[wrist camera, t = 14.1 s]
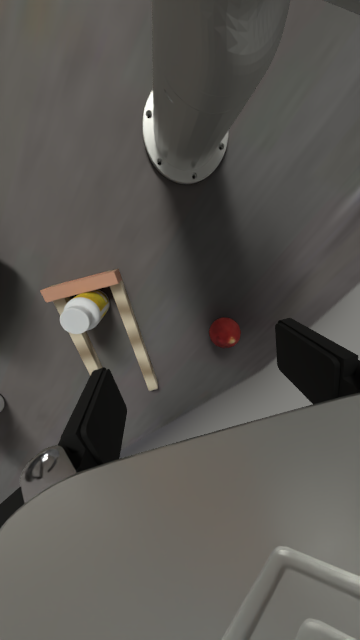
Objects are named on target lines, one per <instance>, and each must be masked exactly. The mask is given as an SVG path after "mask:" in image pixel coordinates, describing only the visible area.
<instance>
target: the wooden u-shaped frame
mask: <svg viewBox="0 0 360 640" xmlns="http://www.w3.org/2000/svg"><path fill="white" fill-rule="evenodd" d="M108 286H110V288H111V291H112V294H113V296H114V299H115V302H116V304H117V307H118V310H119V312H120V315H121V318H122V320H123V323H124V326H125V328H126V331H127V333H128V336H129V339H130V341H131V344H132V347H133V349H134V352H135V355H136V357H137V360H138V363H139V365H140V368H141V371H142V373H143V376H144V379H145V381H146V384H147V387H148V389H149V391H151V390H155V389H158V381H157V378H156V376H155V373H154V370H153V367H152V364H151V361H150V358H149V355H148V353H147V350H146V347H145V344H144V341H143V338H142V335H141V332H140V330H139V327H138V324H137V321H136V318H135V315H134V312H133V309H132V307H131V304H130V301H129V298H128V295H127V292H126V289H125V286H124V284H123V281H122V278H121V275H120V272H119V269H115V270H111V271H107V272H103V273H99V274H95V275H91V276H88V277H84V278H80V279H76V280H72V281H68V282H64V283H60V284H57V285H53V286H50V287H48V288H45V289H43V290H40V292H41V293H42V295H43V297H44V299H45V301H46V302H50V301H53V302H54V304H55V306H56V308H57V310H58V312H59V314H60V316H61V314H62V312H63V311H64V307H65V305H66V304H67V303H68V302H69V301H70V300H71V298H70V296H73V295H77V294H81V293H85V292H88V291H92V290H96V289H100V288H104V287H108ZM69 334H70V336H71V338H72V340H73V342H74V344H75V346H76V348H77V350H78V352H79V354H80V356H81V358H82V360H83V362H84V364H85V366H86V368H87V370H88V372H89V374H90V376H91V374H92V372H93V371H94V370H97V369H101V368H103V367H102V365H101V363H100V361H99V359H98V357H97V354H96V352H95V350H94V348H93V346H92V344H91V341H90V339H89V337H88V335H87V333H86V331H85V332H84V333H81V334H72V333H69Z"/></svg>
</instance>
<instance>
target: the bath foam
mask: <svg viewBox="0 0 360 640" xmlns="http://www.w3.org/2000/svg"><path fill="white" fill-rule="evenodd" d="M3 408H4V399H3V398H2V396H1V395H0V412H1V411H2V409H3Z"/></svg>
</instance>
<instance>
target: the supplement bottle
mask: <svg viewBox="0 0 360 640" xmlns="http://www.w3.org/2000/svg"><path fill="white" fill-rule="evenodd" d="M109 305H110V303H109V299H108V297H107V295H106V294H105V293H104V292H102V291H101V290H98V289H96V290H92V291H88V292H85V293H81V294H79V295H77V296H76V297H74V298H73V299H71V300H70V301H69V302H68V303H67V304H66V305H65V307H64V311H63V312H62V314H61V316H60V323H61V326H62V327H63V328H64V329H65V330H66V331H67V332H69V333H72V334H81V333H84V332H85V331H87V330H91V329H93V328H94V327H96V326H97V324H98V323H99V322H100V320H101V319H102V318H103V316H104V315H105V314H106V312H107V311H108V309H109Z"/></svg>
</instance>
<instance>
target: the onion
mask: <svg viewBox="0 0 360 640" xmlns="http://www.w3.org/2000/svg"><path fill="white" fill-rule="evenodd" d="M209 334H210V338H211V340H212V342H213V343H214V344H215V345H216V346H219V347H221V348H229V347H232V346H234V345H235V344H236V343H237V342H238V341H239V339H240V334H241V331H240V328H239V325H238V324H237V323H236V322H235V321H234V320H232V319H230V318H223V317H222V318H219V319H217V320H215V321H214V322H213V323H212V325H211V327H210V330H209Z"/></svg>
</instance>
